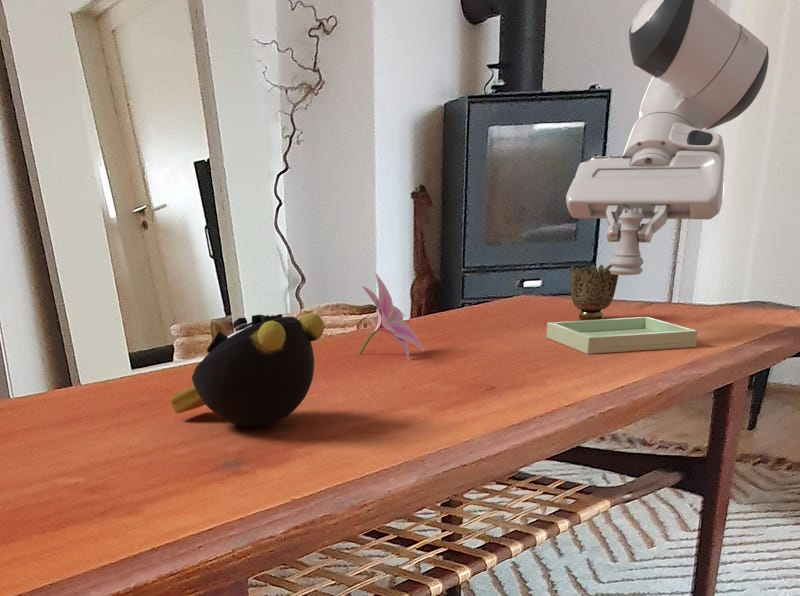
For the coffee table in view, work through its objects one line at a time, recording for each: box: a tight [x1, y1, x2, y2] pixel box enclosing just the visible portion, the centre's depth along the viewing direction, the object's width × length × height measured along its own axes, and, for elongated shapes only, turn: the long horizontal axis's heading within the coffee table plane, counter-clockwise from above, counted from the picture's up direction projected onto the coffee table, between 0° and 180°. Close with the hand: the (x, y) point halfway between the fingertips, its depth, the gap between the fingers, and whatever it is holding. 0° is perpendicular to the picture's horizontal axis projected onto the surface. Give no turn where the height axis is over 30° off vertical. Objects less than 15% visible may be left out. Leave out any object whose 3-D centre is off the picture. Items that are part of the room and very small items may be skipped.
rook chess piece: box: [609, 208, 644, 276], centre depth 129 cm, size 4×4×8 cm
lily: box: [359, 273, 425, 360], centre depth 129 cm, size 12×12×10 cm
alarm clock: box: [169, 312, 325, 428], centre depth 96 cm, size 12×15×15 cm
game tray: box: [545, 316, 699, 355], centre depth 134 cm, size 16×14×2 cm
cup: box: [569, 263, 619, 321], centre depth 151 cm, size 8×7×8 cm
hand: (628, 239), depth 128 cm, fingers closed on rook chess piece, 3 cm apart
